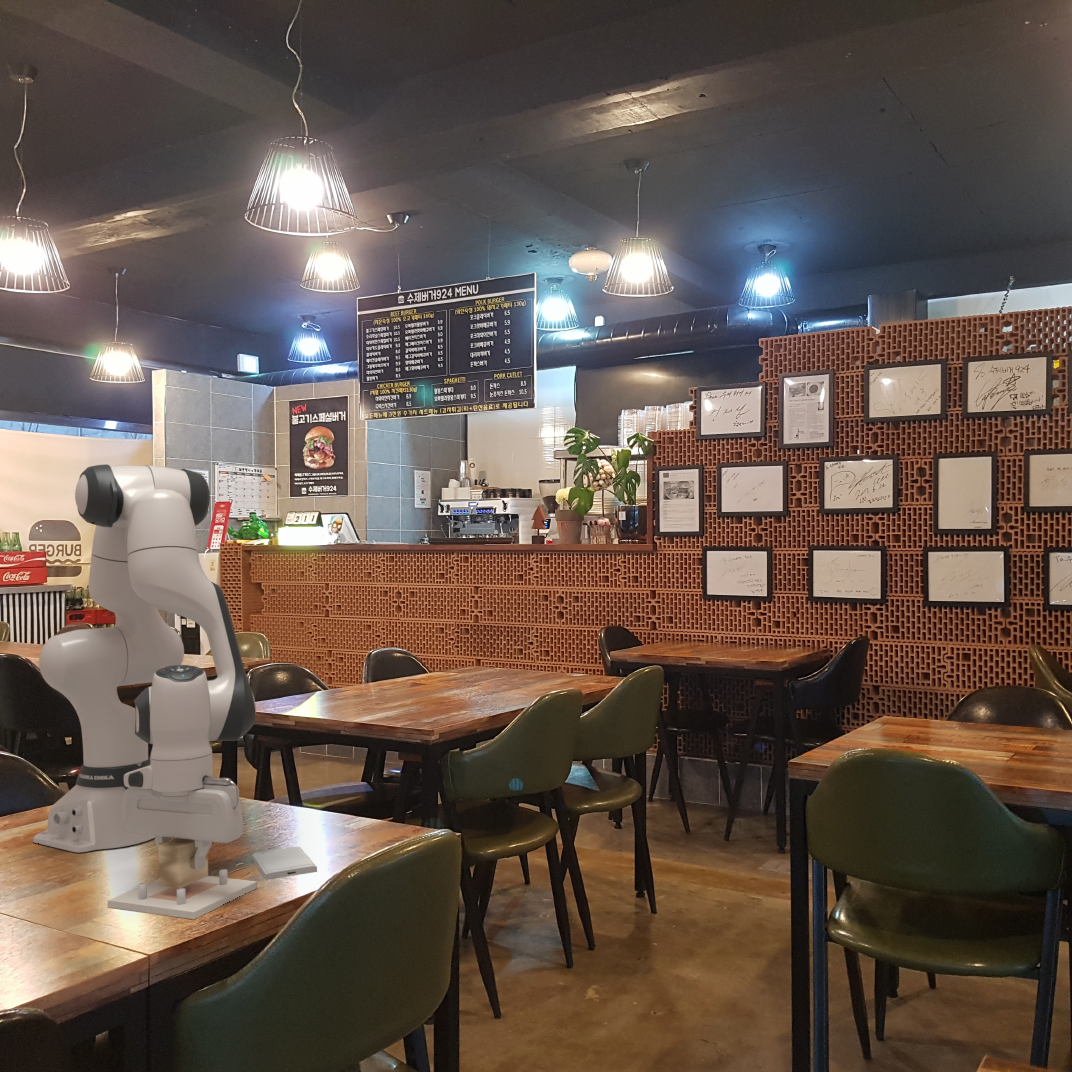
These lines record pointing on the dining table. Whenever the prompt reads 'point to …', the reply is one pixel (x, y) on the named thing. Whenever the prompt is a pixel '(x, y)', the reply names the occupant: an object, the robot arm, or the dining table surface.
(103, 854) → the dining table surface
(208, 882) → the pin base
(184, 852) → the maple block
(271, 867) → the hard drive
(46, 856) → the dining table surface
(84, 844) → the robot arm
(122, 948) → the dining table surface
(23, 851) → the dining table surface
